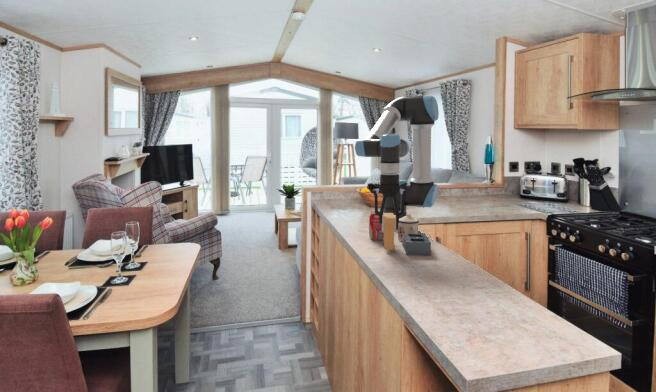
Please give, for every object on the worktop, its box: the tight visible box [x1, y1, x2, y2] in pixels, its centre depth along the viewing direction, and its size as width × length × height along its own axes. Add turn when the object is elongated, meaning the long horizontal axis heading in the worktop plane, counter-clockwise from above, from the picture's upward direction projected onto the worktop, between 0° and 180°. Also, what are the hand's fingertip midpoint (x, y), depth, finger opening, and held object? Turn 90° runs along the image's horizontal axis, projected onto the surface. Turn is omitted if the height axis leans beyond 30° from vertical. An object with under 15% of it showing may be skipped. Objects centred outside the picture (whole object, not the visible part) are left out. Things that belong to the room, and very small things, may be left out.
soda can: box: [368, 211, 384, 241], centre depth 196 cm, size 7×7×12 cm
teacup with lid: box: [397, 213, 420, 242], centre depth 193 cm, size 12×9×12 cm
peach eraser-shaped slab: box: [383, 213, 395, 250], centre depth 178 cm, size 4×12×12 cm, turn 176°
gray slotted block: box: [401, 232, 432, 257], centre depth 177 cm, size 9×17×5 cm, turn 175°
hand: (388, 231), depth 178 cm, fingers closed on peach eraser-shaped slab, 4 cm apart
